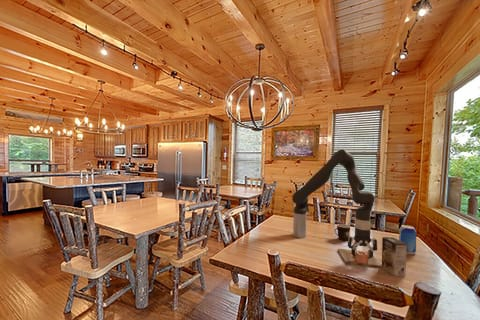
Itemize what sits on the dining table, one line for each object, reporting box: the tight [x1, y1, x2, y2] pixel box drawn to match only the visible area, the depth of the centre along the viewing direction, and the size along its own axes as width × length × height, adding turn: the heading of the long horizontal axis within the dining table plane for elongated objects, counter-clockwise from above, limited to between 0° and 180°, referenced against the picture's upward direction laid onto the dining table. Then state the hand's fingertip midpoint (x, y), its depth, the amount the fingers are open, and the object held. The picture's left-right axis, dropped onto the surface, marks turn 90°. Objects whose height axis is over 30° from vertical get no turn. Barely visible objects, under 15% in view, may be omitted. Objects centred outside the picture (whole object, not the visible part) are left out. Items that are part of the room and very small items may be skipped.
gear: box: [356, 250, 369, 264], centre depth 118 cm, size 6×6×4 cm
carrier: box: [337, 247, 383, 269], centre depth 124 cm, size 18×18×5 cm
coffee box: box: [381, 236, 407, 277], centre depth 111 cm, size 9×6×16 cm
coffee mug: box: [334, 223, 351, 242], centre depth 154 cm, size 12×9×10 cm
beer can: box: [398, 224, 417, 255], centre depth 135 cm, size 8×8×16 cm
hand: (361, 256), depth 118 cm, fingers open, 8 cm apart
